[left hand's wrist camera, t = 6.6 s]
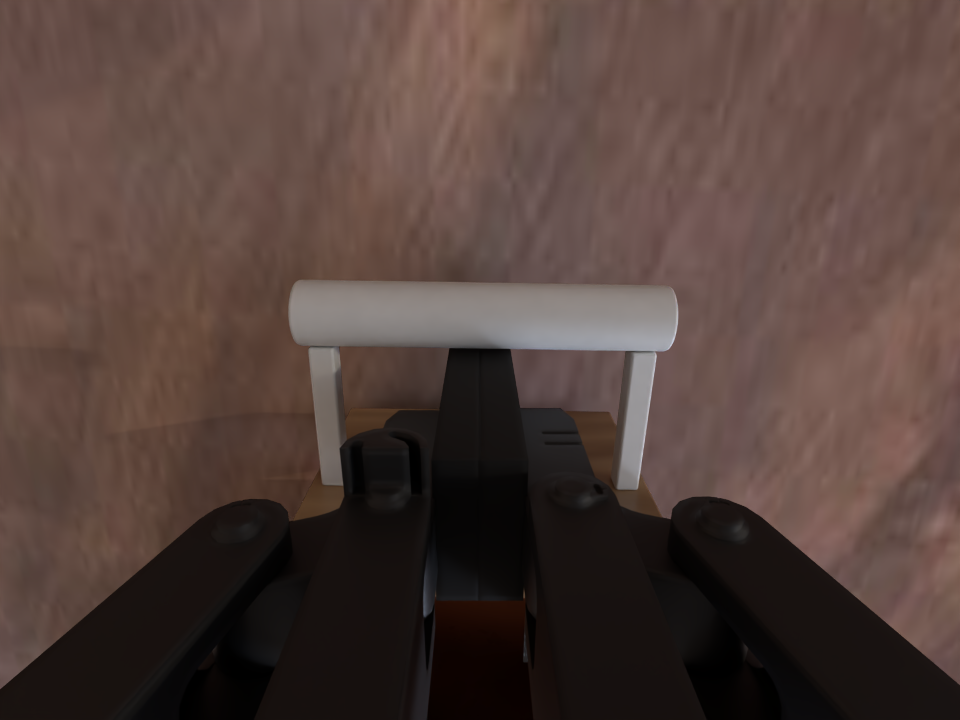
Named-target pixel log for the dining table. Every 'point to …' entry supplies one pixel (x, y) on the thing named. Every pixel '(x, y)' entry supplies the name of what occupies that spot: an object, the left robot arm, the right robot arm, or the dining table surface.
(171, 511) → the dining table surface
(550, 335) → the drawer
